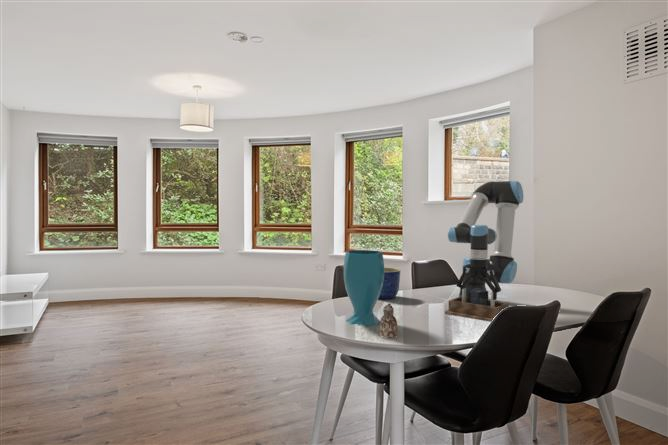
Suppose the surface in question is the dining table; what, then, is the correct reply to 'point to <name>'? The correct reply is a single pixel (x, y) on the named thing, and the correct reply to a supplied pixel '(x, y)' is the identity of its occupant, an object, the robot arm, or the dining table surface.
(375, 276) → the vase
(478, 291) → the box
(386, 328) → the figurine
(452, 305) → the tray
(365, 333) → the dining table surface
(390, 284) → the planter
